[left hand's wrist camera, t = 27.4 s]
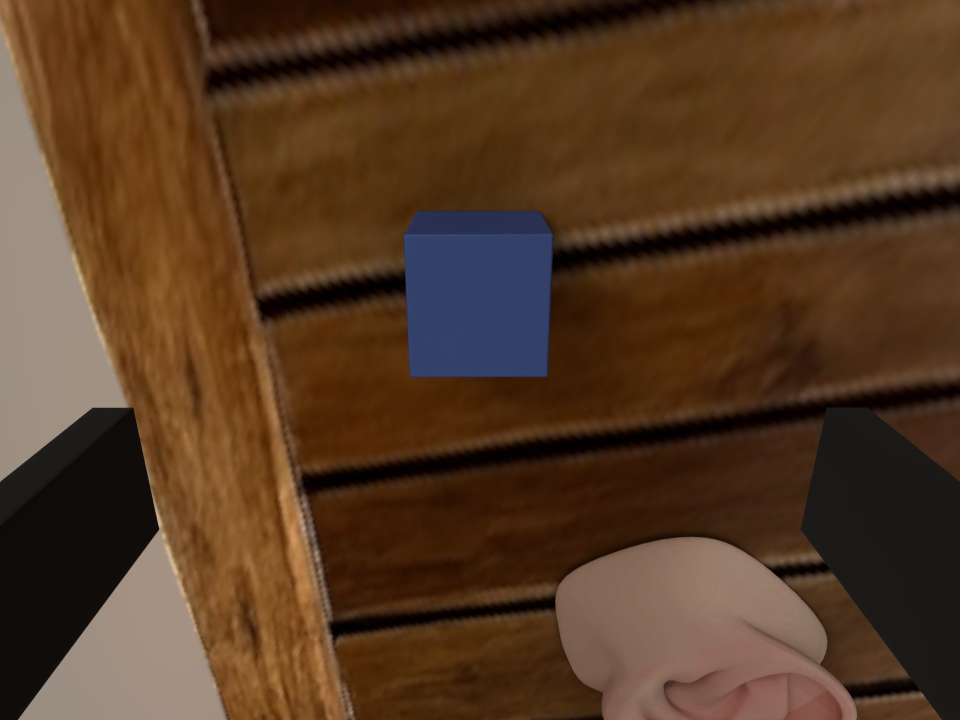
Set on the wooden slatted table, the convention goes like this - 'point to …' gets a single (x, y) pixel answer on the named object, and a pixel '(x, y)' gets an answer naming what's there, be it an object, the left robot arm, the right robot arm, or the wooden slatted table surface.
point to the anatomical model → (695, 637)
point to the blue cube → (478, 293)
